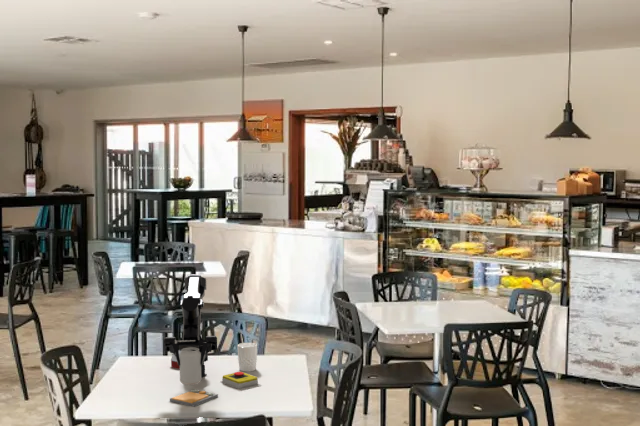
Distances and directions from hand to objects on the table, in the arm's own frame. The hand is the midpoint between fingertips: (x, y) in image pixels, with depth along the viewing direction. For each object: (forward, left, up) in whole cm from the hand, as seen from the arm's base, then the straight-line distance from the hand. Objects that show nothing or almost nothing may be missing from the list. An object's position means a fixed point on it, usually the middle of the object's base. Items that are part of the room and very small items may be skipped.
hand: (190, 364), depth 287 cm
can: (-1, +1, -7) cm, 7 cm away
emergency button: (+1, +27, -14) cm, 30 cm away
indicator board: (-1, +3, -13) cm, 13 cm away
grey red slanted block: (-35, +36, -14) cm, 52 cm away
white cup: (-9, +45, -13) cm, 48 cm away
